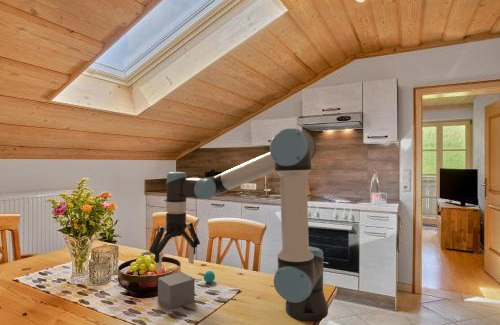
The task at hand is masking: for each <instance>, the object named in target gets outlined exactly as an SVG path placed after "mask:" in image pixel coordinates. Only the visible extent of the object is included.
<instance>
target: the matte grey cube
mask: <svg viewBox="0 0 500 325" xmlns="http://www.w3.org/2000/svg"><path fill="white" fill-rule="evenodd" d="M163 276H164V277H163ZM163 276H161V277H160V276H159V278H158V281H157V301H158V302H159V303H160V304H162V306H164V305H165V306H164V307H166V308H167V309H168V310H170V311H171V309H172V310H174V309H177V307H178V308H180V307H183V306H186V305H188V304H191V303H192V304H193V303H195V301H196V300H195V288H196V287H195V285H196V284H195V282H196V281H195V280H196V279H195V278H194V277H192V276H190V275H188V274H187V273H184V272H183V271H180V272H179V271H178V272H175V273H172V274H168V275H163Z"/></svg>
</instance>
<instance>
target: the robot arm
mask: <svg viewBox="0 0 500 325" xmlns="http://www.w3.org/2000/svg"><path fill="white" fill-rule="evenodd" d="M269 143H270V144H269V151H268V152H266V153H264V154H262V155H259V156H257V157H255V158H252V159H249V160H248V161H246V162H244V163H242V164H240V165H237V166H235V167H233V168H231V169H228V170H226V171H223V172H222V173H219V174H217V175H214V176H208V177H198V178H197V177H196V178H195V177H188V175H187V173H186V172H185V171H184V172H183V171H175V172H174V171H170V172H168V173H166V183H165V187H166V202H165V204H166V205H165V206H166V207H165V211H166V214H165V223H166V224H165V226H161V225H159V226H158V227H157V233H156V235H155V237H154V239H153V241H152V244H151V246H150V248H149V250H148V251H150V252H151V253H153V254H155V258H154V261H155V262H156V263H157V271H159V272H160V273H161V272H162V270H163V268H162V267H163V263H162V262H163V260H162V254H161V253H160V252H162V251H163V249H164V247H166V245H167V244H168V242H169V241H170V240H171V239H172V238H176V237H181V236H182V237H183V238H184V239H185V241H186V242H187V243H188V245H189V246H188V263H189V264H191V265H194V261H195V258H194V256H195V255H196V248H197V247H198V246H199V245H200V244H201V242H200V240H199V237H198V235H197V233H196V231H195V228H194V223H193V222H190V221H188V222H187V212H186V211H187V199H188V198H190V199H199V200H210V199H212V198H213V197H214V196H221V195H224V194H225V193H226V192H228V191H230V190H232V189H235V188H238V187H240V186H242V185H245V184H248V183H251V182H252V181H255V180H257V179H259V178H262V177H264V176H265V177H266V176H267V175H269V174H272V173H274V172H275V173H276V174H277V175H278V177H279V184H280V185H279V186H280V187H279V189H280V193H279V194H280V218H281V219H280V222H281V224H280V226H281V251H279V253H278V254H277V270H276V271H275V273H274V275H273V276H274V277H273V286H274V289H275V291H276V293H277V294H278V295H279V296H280V297H281V298H282V299H283V300H285V312H286V313H287V314H288V315H289V316H290V317H291V318H294V319H296V320H299V321H306V322H316V321H320V320H323V319H325V318H327V317H328V314H329V306H328V303H327V300H326V296H325V293H324V259H325V257H324V251H323V250H322V249H320V248H318V247H314V246H310V243H309V242H310V241H309V213H308V212H309V209H308V208H309V206H308V180H307V179H308V178H307V176H308V175H309V174H310V172H311V171H312V160H313V159H314V158H315V156H316V153H317V142H316V140H315V138H314V137H313V136H312V135H311V134H309V132H306V131H302V130H300V129H298V128H284V129H281V130H279V131H278V132H276V133H275V134H274V135H273V137H272V139H271V141H270V142H269ZM186 229H187V230H188V232H189V234H190V236H191V237H190V236H189V234H188V233H187V231H186ZM165 232H166V233H165ZM164 233H165V234H164ZM163 235H164V236H163Z"/></svg>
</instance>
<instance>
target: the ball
mask: <svg viewBox="0 0 500 325" xmlns="http://www.w3.org/2000/svg"><path fill="white" fill-rule="evenodd" d="M215 278H216V275H215V273H214V271H211V270H207V271H206V272H204V274H203V281H205V283H207V284H210V283H213V282H214V281H215Z"/></svg>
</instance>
